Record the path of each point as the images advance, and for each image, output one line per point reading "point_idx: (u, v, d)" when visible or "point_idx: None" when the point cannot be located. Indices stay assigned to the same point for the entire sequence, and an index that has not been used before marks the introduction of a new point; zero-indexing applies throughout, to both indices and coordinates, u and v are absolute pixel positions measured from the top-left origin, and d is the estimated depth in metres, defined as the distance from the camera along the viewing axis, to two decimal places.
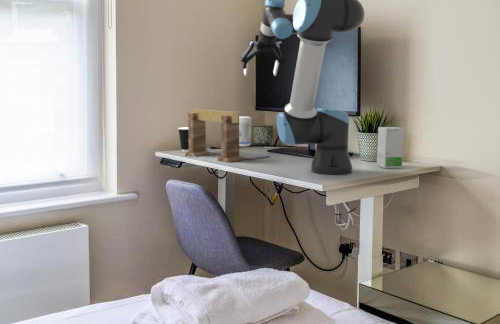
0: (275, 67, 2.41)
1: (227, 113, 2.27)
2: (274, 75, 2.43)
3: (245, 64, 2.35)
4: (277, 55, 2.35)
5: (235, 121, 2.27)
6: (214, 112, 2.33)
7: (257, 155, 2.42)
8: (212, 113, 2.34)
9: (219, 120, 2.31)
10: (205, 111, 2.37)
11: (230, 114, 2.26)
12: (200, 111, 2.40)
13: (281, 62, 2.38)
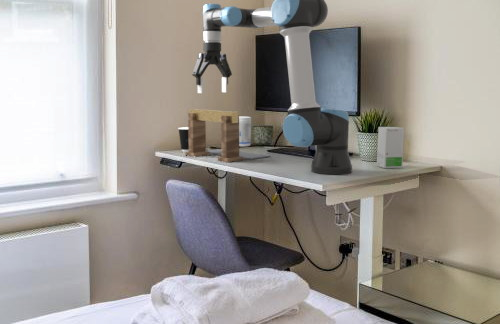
0: (224, 84, 2.39)
1: (227, 113, 2.27)
2: (225, 92, 2.39)
3: (199, 79, 2.29)
4: (224, 67, 2.37)
5: (235, 121, 2.27)
6: (214, 112, 2.33)
7: (257, 155, 2.42)
8: (212, 113, 2.34)
9: (219, 120, 2.31)
10: (205, 111, 2.37)
11: (230, 114, 2.26)
12: (200, 111, 2.40)
13: (229, 75, 2.38)
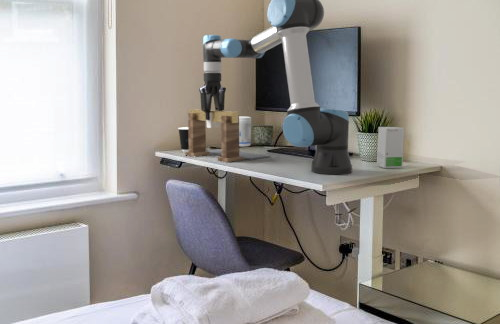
0: None
1: (227, 113, 2.27)
2: None
3: (208, 114, 2.34)
4: (219, 101, 2.37)
5: (235, 121, 2.27)
6: (214, 112, 2.33)
7: (257, 155, 2.42)
8: (212, 113, 2.34)
9: (219, 120, 2.31)
10: None
11: (230, 114, 2.26)
12: (200, 111, 2.40)
13: (221, 110, 2.37)
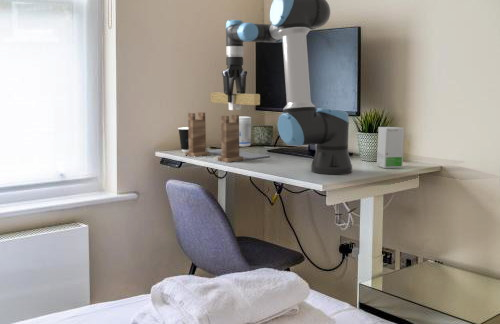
0: None
1: (249, 95, 2.35)
2: (239, 109, 2.46)
3: (230, 97, 2.42)
4: (241, 84, 2.45)
5: (257, 103, 2.35)
6: (236, 95, 2.41)
7: (257, 155, 2.42)
8: (234, 96, 2.42)
9: (241, 102, 2.39)
10: None
11: (252, 96, 2.34)
12: (222, 94, 2.48)
13: (242, 93, 2.45)
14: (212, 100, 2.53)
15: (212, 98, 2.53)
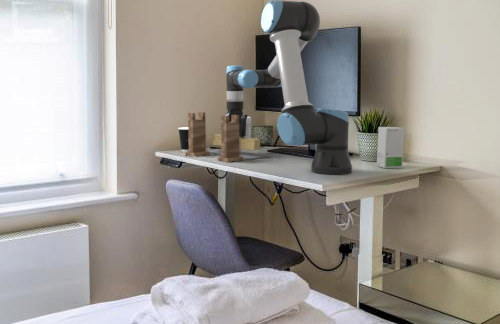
0: None
1: (249, 140, 2.38)
2: (239, 152, 2.49)
3: None
4: (241, 128, 2.48)
5: (257, 148, 2.38)
6: None
7: (257, 155, 2.42)
8: None
9: (241, 146, 2.42)
10: None
11: (252, 141, 2.37)
12: None
13: (243, 136, 2.48)
14: (213, 142, 2.56)
15: (213, 140, 2.56)
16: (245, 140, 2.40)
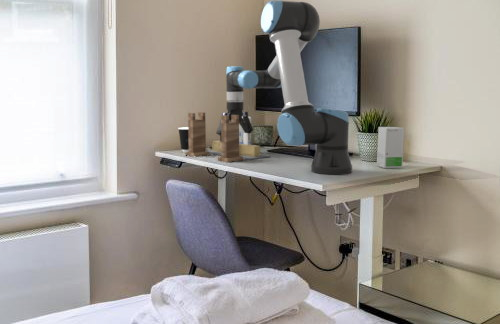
0: (245, 139, 2.52)
1: (249, 147, 2.39)
2: None
3: None
4: (246, 124, 2.50)
5: (257, 155, 2.39)
6: None
7: None
8: None
9: (241, 153, 2.43)
10: None
11: (252, 148, 2.38)
12: None
13: (250, 131, 2.51)
14: (213, 148, 2.56)
15: (213, 146, 2.56)
16: (245, 147, 2.41)
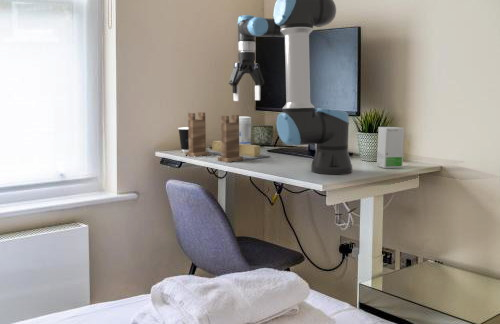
0: (257, 92, 2.49)
1: (249, 147, 2.39)
2: None
3: (235, 88, 2.38)
4: (257, 76, 2.46)
5: (257, 155, 2.39)
6: None
7: None
8: None
9: (241, 153, 2.43)
10: None
11: (252, 148, 2.38)
12: None
13: (262, 83, 2.48)
14: (213, 148, 2.56)
15: (213, 146, 2.56)
16: (245, 147, 2.41)
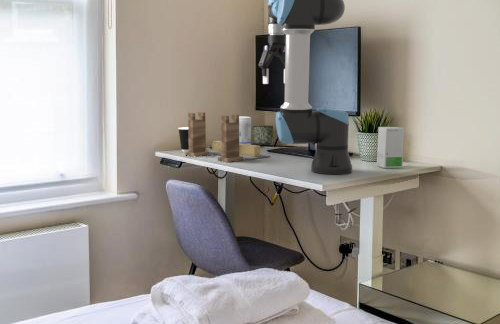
0: None
1: (249, 147, 2.39)
2: None
3: (265, 70, 2.38)
4: None
5: (257, 155, 2.39)
6: None
7: None
8: None
9: (241, 153, 2.43)
10: None
11: (252, 148, 2.38)
12: None
13: None
14: (213, 148, 2.56)
15: (213, 146, 2.56)
16: (245, 147, 2.41)
